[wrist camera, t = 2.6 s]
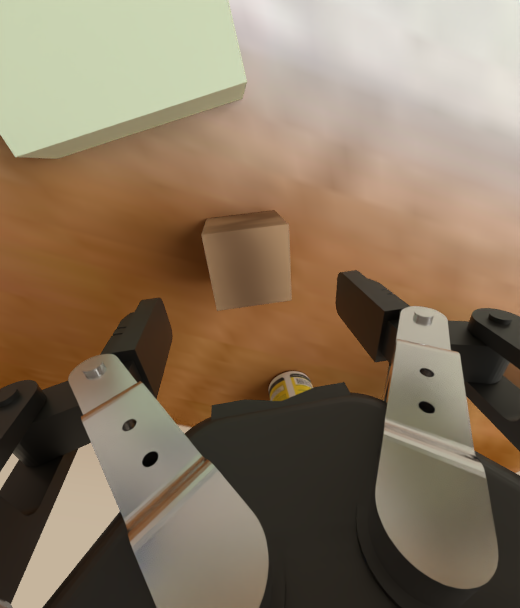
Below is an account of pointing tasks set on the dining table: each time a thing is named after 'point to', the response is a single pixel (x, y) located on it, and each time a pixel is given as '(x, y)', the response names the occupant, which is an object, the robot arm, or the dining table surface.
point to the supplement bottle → (288, 385)
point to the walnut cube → (248, 259)
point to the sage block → (110, 69)
